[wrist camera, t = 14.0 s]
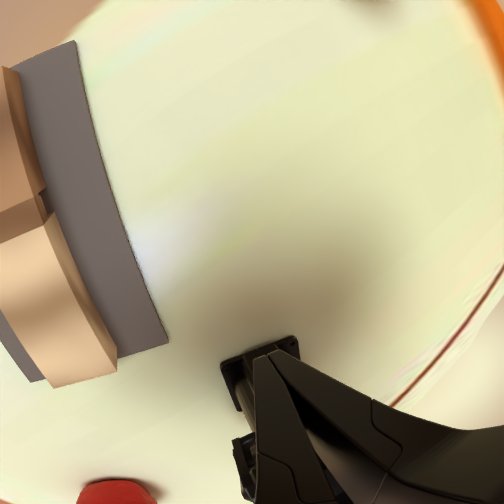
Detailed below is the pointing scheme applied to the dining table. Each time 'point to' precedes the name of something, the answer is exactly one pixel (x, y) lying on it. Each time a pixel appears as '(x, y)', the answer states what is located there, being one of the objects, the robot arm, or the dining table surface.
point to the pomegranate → (115, 493)
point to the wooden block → (17, 163)
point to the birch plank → (53, 307)
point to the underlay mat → (82, 206)
